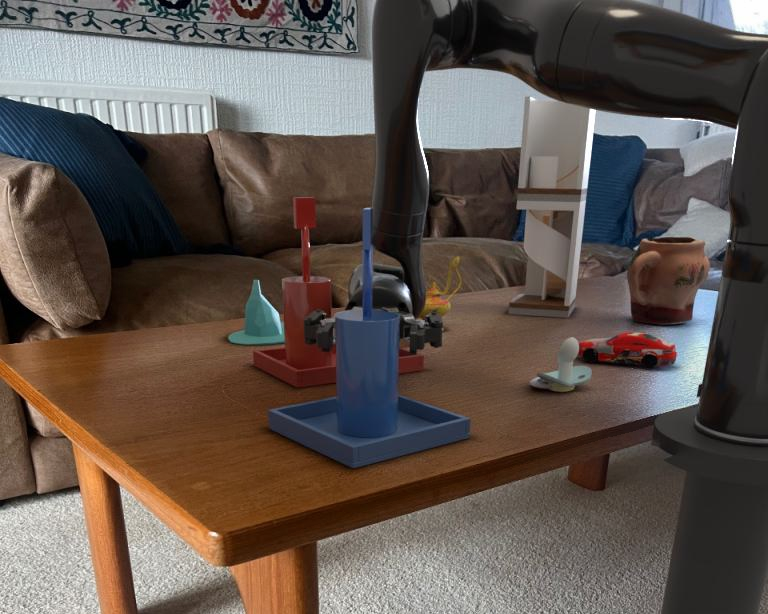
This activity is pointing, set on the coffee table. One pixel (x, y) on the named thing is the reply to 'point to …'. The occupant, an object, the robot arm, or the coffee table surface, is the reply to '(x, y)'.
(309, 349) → the red spoon pot
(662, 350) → the race car
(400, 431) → the blue tray
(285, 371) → the red tray
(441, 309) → the magic lamp
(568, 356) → the pacifier
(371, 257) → the blue pot
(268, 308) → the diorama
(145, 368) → the coffee table surface
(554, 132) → the display case
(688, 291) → the decorative planter
